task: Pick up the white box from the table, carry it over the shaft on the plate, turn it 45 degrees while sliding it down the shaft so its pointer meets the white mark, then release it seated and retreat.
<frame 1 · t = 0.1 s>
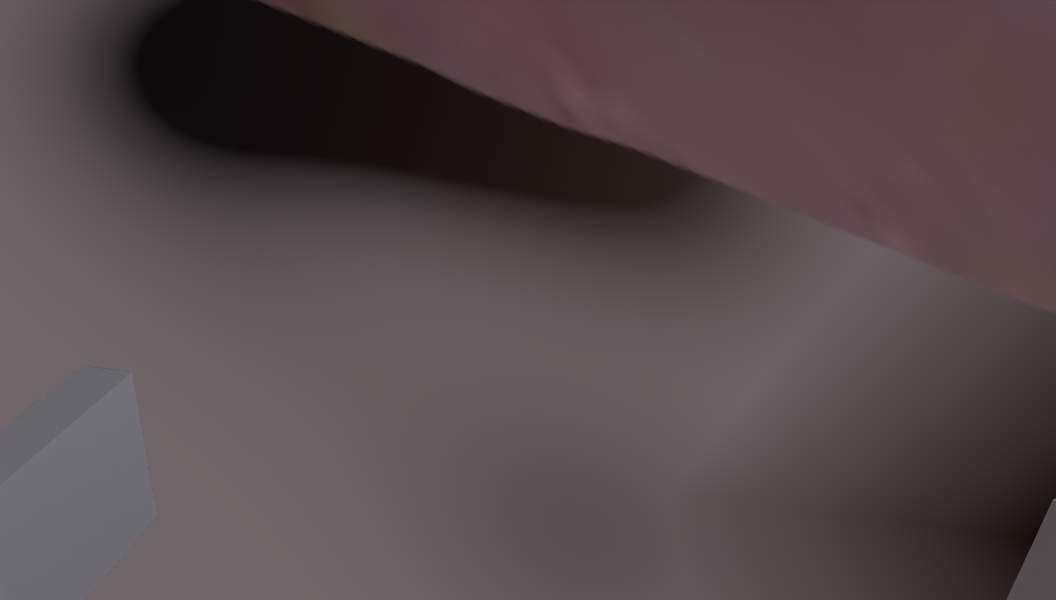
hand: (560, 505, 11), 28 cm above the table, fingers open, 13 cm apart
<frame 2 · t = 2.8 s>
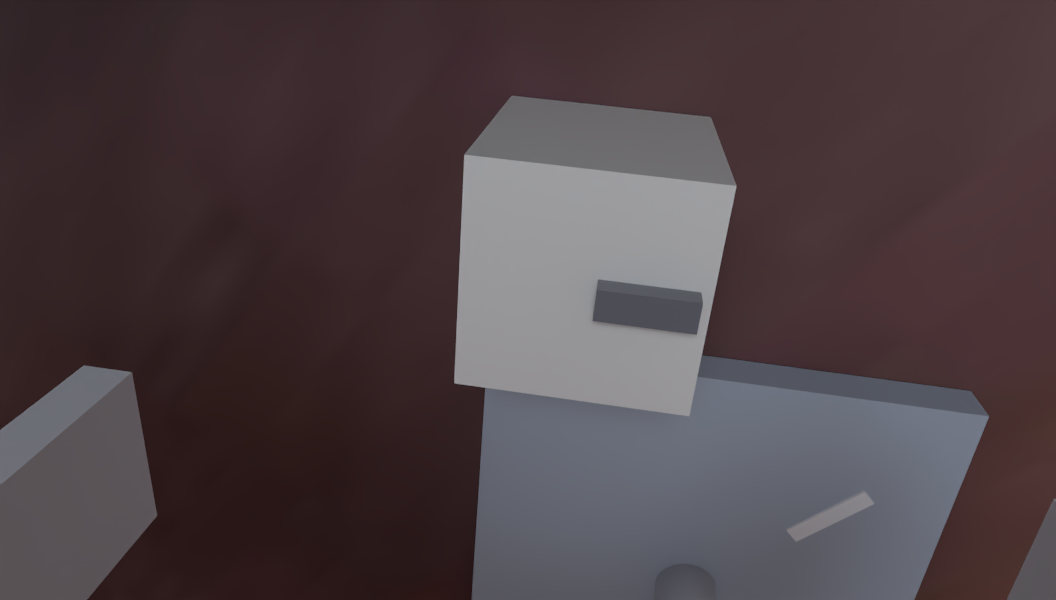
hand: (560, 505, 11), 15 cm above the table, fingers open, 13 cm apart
plate: (683, 557, 30), on the table
white box: (598, 201, 25), on the table
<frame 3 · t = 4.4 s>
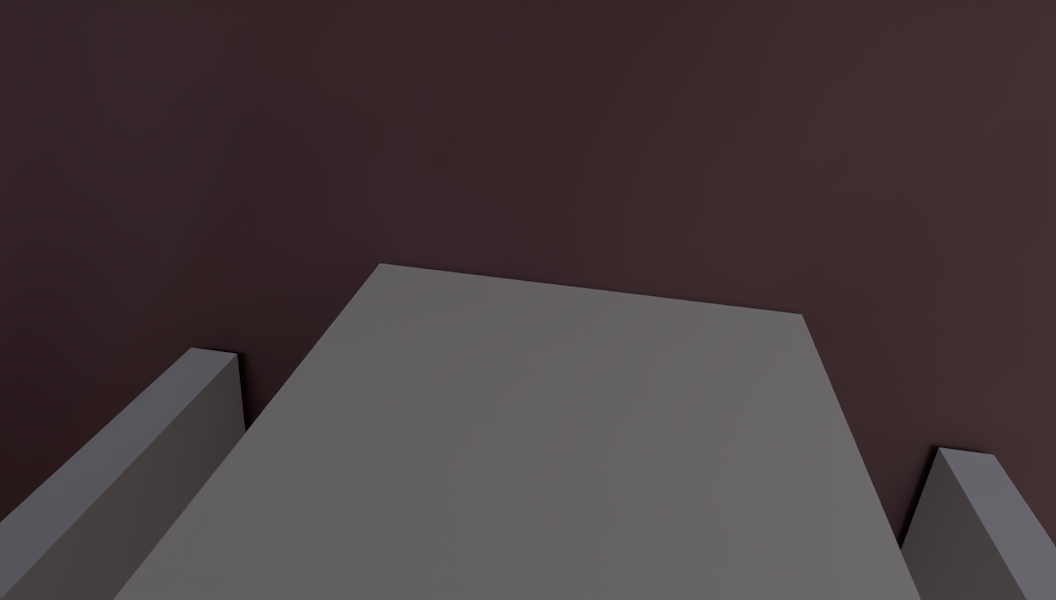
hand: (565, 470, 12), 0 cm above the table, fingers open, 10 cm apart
white box: (566, 459, 12), on the table
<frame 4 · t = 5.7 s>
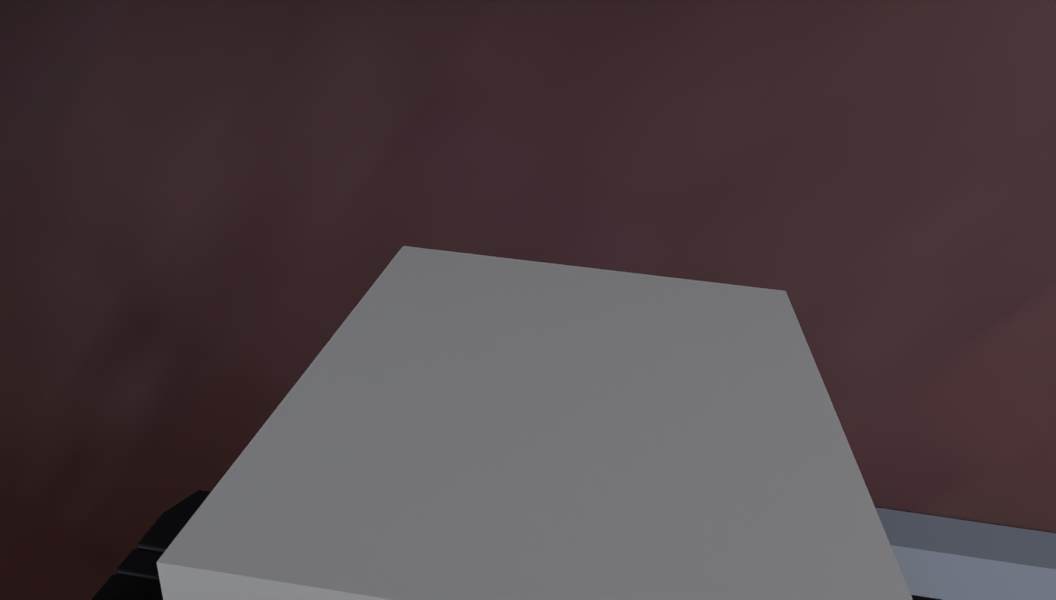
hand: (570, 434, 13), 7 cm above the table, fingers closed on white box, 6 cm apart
white box: (571, 427, 13), point 7 cm above the table, touching gripper
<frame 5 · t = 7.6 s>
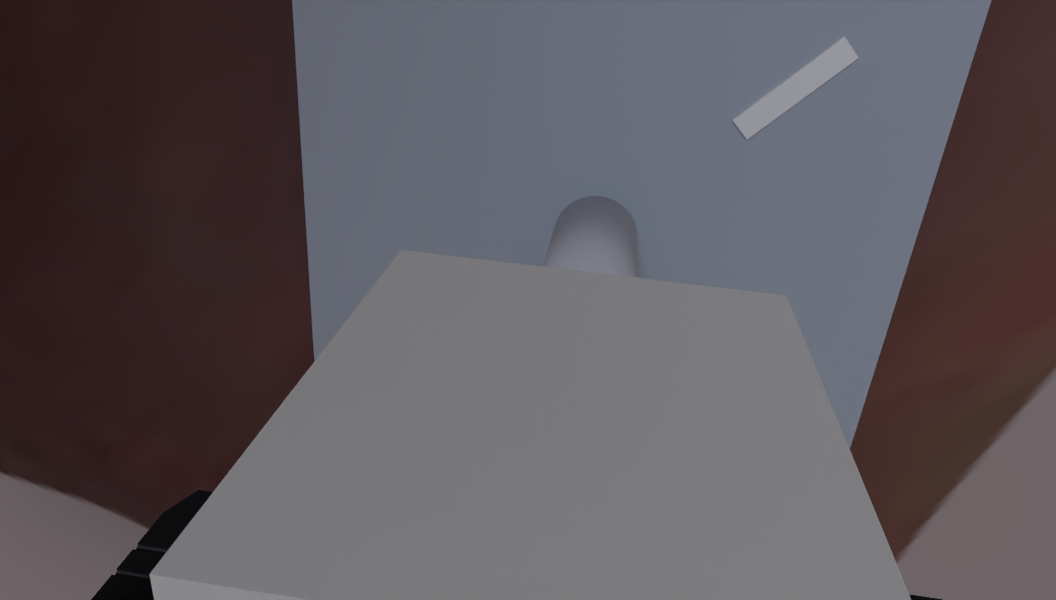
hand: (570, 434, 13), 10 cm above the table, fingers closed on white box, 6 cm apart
plate: (598, 216, 22), on the table
white box: (571, 432, 13), point 10 cm above the table, touching gripper
when the fingers open (3 cm above the table, at t = 9.5 s): white box drops 1 cm, resting on plate.
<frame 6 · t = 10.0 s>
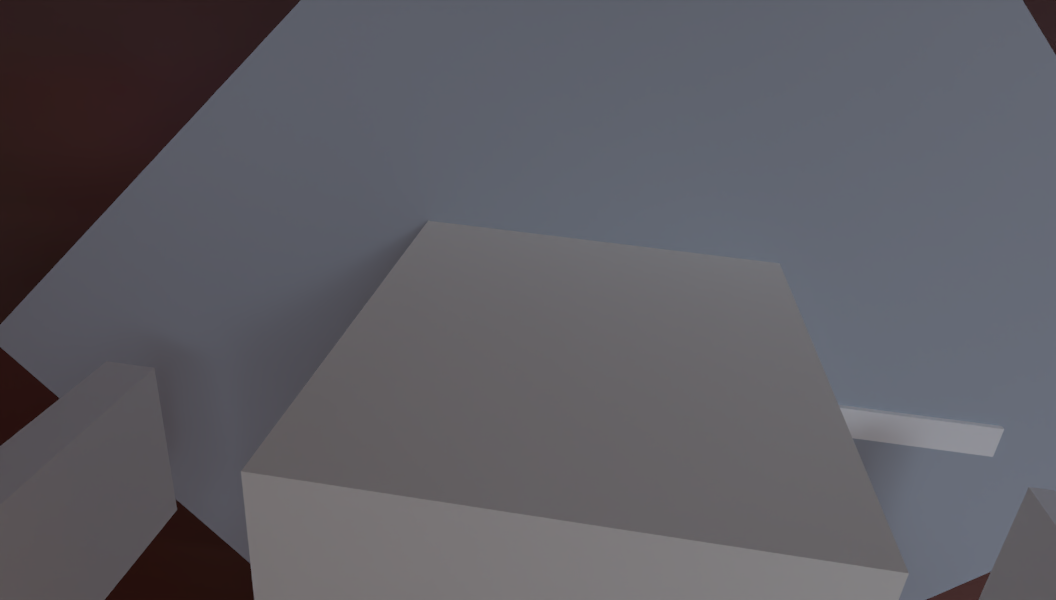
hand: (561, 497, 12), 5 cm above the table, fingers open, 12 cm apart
plate: (582, 346, 16), on the table
white box: (581, 390, 14), point 1 cm above the table, touching plate
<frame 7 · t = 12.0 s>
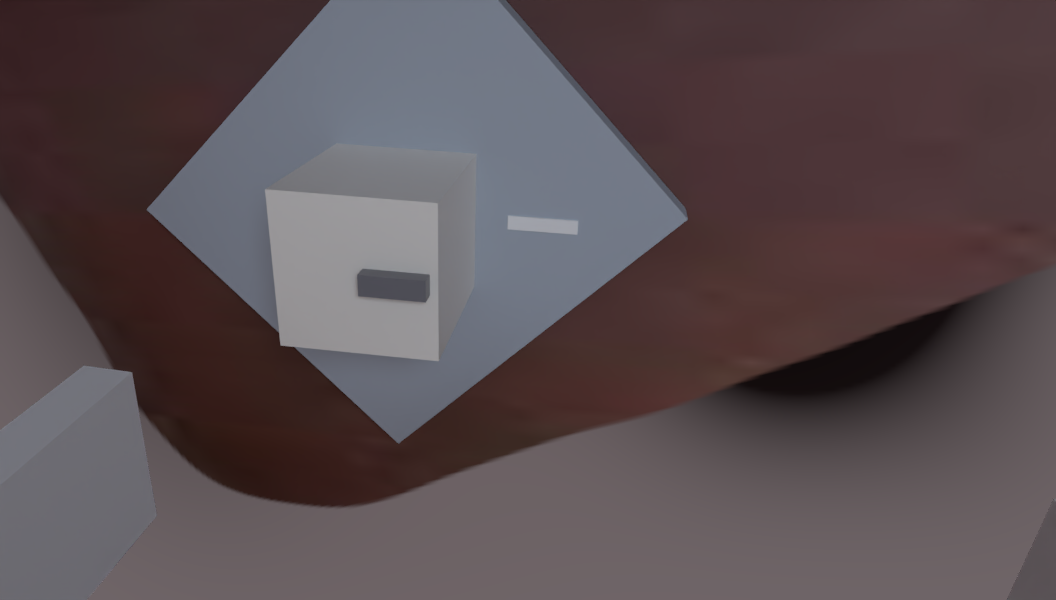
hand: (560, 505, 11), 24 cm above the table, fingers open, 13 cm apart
plate: (414, 204, 35), on the table
white box: (407, 216, 34), point 1 cm above the table, touching plate
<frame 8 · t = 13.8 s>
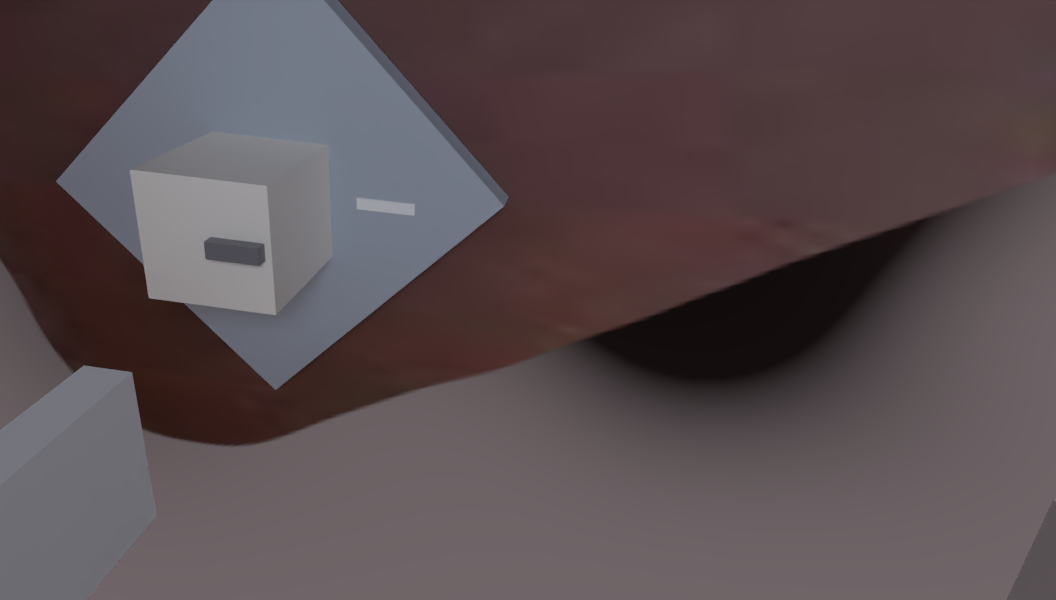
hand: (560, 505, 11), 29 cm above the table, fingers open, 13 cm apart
plate: (284, 184, 41), on the table
white box: (274, 195, 40), point 1 cm above the table, touching plate
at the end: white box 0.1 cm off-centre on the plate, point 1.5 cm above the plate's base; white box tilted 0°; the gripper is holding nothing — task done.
